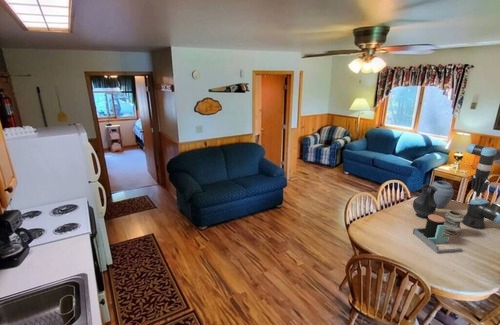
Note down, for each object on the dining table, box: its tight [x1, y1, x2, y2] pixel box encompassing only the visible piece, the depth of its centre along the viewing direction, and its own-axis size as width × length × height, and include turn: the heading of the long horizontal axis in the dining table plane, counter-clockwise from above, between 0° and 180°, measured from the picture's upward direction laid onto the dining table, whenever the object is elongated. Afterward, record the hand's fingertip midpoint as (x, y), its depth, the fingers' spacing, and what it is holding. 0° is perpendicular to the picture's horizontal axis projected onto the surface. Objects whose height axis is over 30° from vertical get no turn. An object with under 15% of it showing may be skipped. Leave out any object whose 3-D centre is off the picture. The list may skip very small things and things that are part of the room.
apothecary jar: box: [444, 209, 464, 237], centre depth 213 cm, size 12×12×18 cm
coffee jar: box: [423, 213, 446, 238], centre depth 206 cm, size 11×11×18 cm
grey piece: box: [412, 227, 463, 254], centre depth 203 cm, size 19×25×4 cm
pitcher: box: [412, 184, 438, 220], centre depth 234 cm, size 17×21×30 cm
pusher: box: [428, 225, 450, 244], centre depth 200 cm, size 16×2×15 cm, turn 96°
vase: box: [430, 180, 454, 209], centre depth 254 cm, size 20×20×24 cm
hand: (474, 199), depth 195 cm, fingers closed
